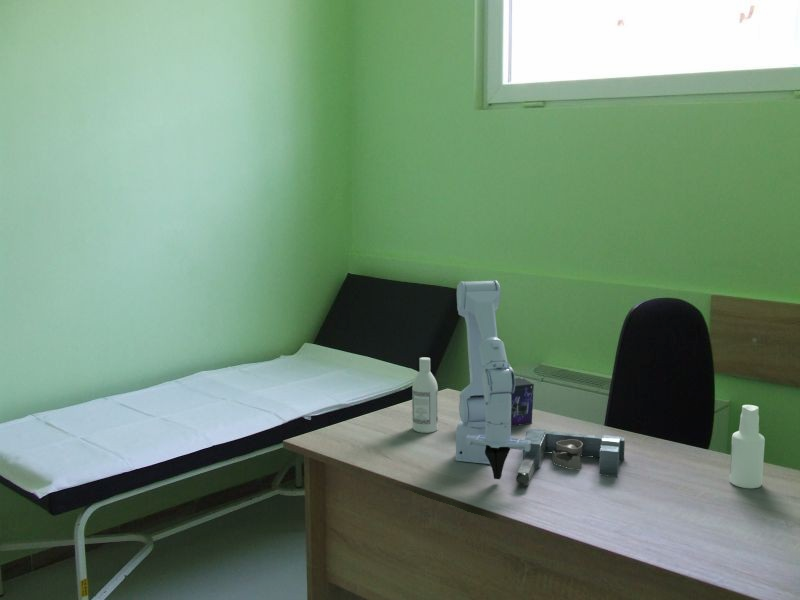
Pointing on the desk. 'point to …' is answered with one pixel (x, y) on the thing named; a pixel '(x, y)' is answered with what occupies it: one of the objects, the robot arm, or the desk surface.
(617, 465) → the vise bed
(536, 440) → the sliding jaw
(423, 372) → the bath foam
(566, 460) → the dental mold
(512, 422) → the box
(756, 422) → the spray bottle
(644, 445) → the desk surface
